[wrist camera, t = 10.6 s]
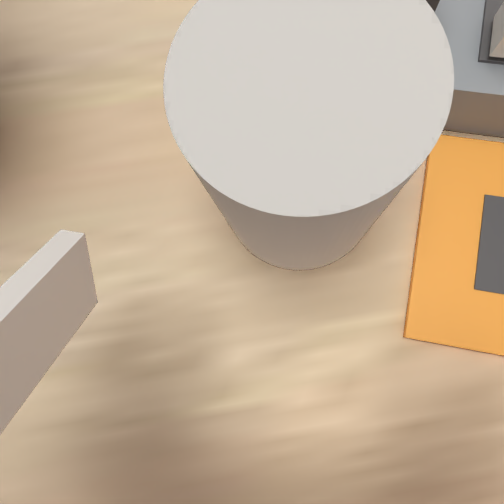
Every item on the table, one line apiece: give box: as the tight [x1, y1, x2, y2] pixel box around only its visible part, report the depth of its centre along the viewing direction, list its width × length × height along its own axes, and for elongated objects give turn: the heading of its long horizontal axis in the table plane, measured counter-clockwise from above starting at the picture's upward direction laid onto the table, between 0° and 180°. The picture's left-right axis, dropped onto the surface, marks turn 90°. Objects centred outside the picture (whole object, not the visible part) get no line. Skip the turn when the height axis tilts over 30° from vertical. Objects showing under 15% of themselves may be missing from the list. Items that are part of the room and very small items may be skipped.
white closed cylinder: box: [164, 0, 454, 270], centre depth 18 cm, size 8×8×12 cm
